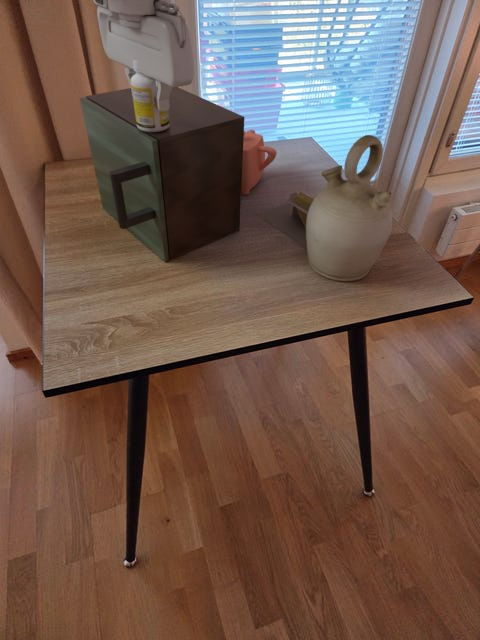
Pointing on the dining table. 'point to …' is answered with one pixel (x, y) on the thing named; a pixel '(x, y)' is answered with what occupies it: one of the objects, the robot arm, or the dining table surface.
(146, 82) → the supplement bottle
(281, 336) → the dining table surface
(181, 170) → the cupboard
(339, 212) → the jug
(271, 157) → the teapot
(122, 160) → the cupboard door
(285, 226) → the platform
